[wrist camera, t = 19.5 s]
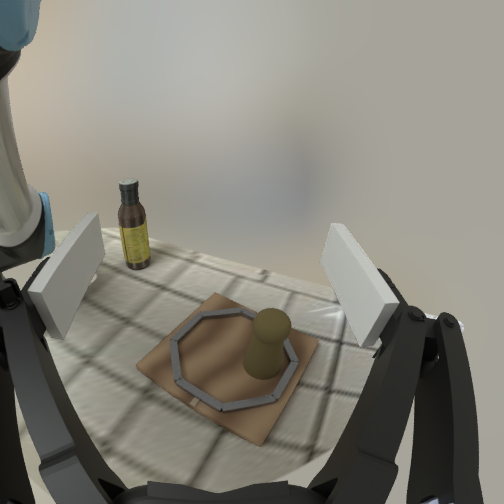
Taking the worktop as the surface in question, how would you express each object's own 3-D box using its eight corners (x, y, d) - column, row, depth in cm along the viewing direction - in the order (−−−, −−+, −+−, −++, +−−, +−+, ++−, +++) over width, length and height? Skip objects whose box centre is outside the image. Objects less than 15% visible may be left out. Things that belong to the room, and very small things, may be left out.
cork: (287, 360, 41) (304, 314, 35) (268, 386, 37) (283, 343, 31) (256, 343, 44) (266, 295, 38) (235, 366, 39) (241, 319, 33)
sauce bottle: (156, 261, 61) (151, 179, 50) (137, 274, 56) (128, 188, 46) (137, 252, 63) (131, 174, 52) (119, 264, 58) (108, 183, 48)
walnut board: (137, 369, 37) (135, 364, 36) (214, 296, 54) (215, 291, 53) (260, 446, 29) (261, 444, 29) (317, 344, 46) (319, 339, 45)
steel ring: (146, 364, 37) (145, 361, 36) (216, 298, 52) (216, 294, 51) (257, 433, 30) (258, 431, 30) (310, 342, 45) (311, 338, 44)
